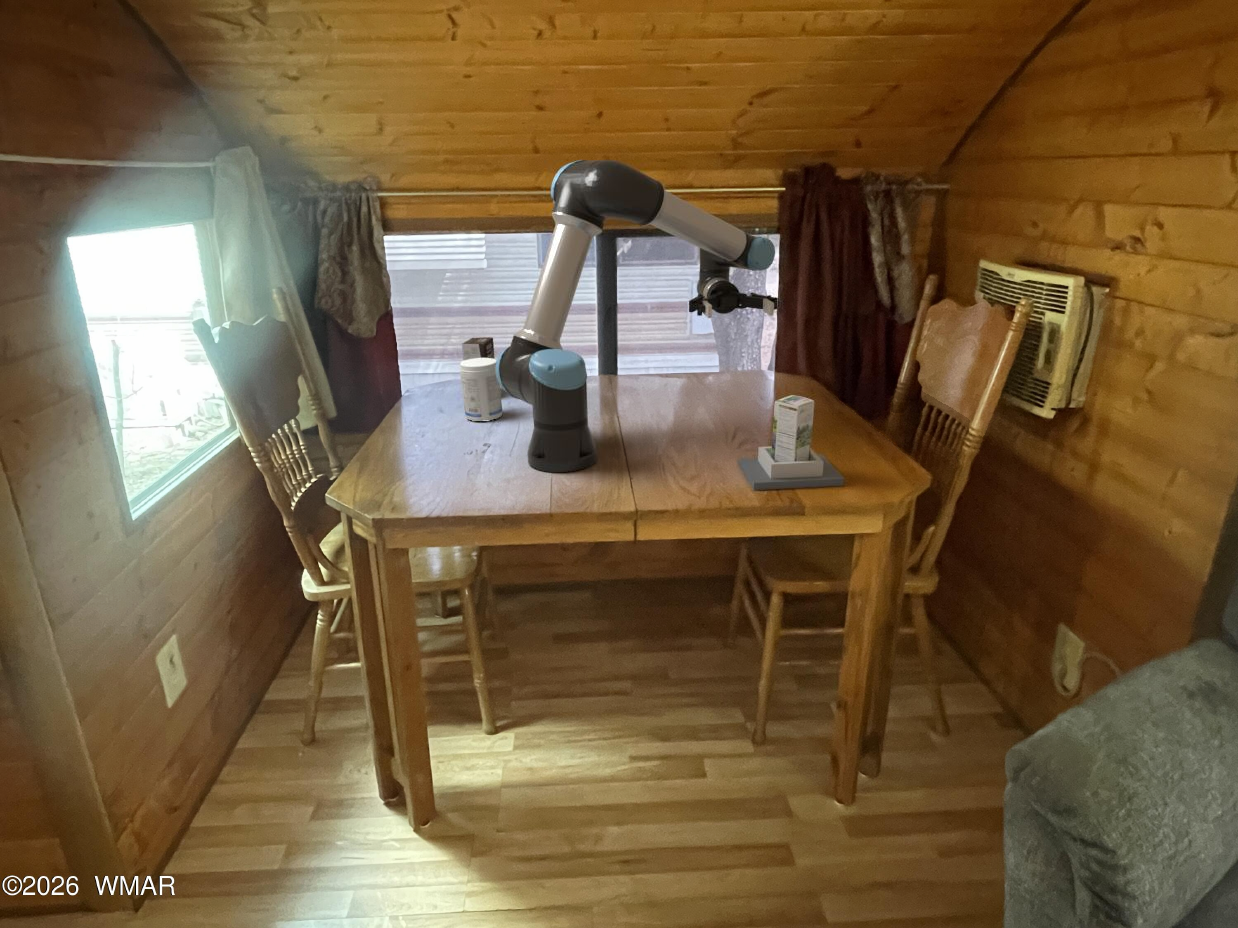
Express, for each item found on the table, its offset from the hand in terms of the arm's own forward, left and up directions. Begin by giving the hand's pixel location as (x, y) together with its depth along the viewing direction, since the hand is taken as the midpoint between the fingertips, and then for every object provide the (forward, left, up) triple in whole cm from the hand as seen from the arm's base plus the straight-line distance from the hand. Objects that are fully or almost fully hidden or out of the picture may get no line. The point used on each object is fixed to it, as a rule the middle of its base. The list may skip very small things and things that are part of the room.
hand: (741, 310), depth 171 cm
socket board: (+6, -22, -30) cm, 38 cm away
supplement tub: (-60, +28, -30) cm, 73 cm away
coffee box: (-62, +48, -30) cm, 84 cm away
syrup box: (+6, -22, -29) cm, 37 cm away
